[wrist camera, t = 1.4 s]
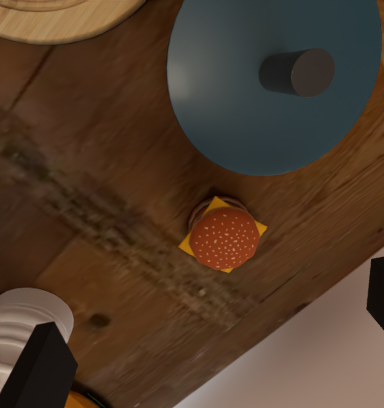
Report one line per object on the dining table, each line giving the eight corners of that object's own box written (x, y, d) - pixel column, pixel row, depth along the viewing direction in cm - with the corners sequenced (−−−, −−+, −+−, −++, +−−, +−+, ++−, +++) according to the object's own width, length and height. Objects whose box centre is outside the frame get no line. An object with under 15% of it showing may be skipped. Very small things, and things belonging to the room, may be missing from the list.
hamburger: (228, 259, 45) (237, 288, 39) (174, 233, 42) (175, 259, 36) (264, 212, 42) (280, 236, 36) (209, 180, 39) (216, 200, 33)
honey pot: (84, 338, 49) (43, 470, 33) (11, 352, 49) (-67, 490, 33) (57, 280, 44) (-9, 404, 28) (-26, 296, 44) (-140, 428, 28)
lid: (127, 106, 25) (111, 119, 18) (253, -128, 20) (305, -249, 12) (281, 203, 31) (317, 245, 23) (415, 40, 25) (520, 26, 18)
